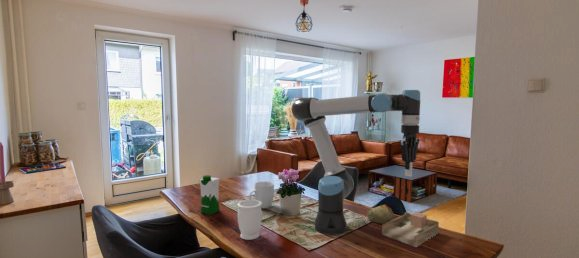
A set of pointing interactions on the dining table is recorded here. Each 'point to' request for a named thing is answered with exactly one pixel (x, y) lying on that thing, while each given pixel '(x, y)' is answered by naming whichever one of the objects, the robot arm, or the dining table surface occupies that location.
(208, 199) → the milk carton
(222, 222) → the dining table surface
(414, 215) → the terracotta block
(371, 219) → the pastry
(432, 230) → the tray
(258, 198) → the mug
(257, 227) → the jar
